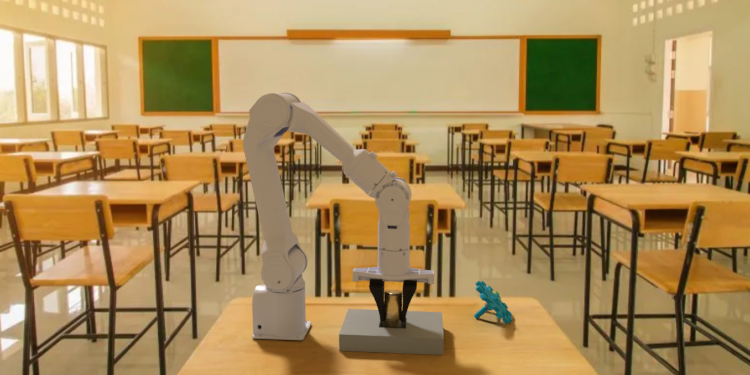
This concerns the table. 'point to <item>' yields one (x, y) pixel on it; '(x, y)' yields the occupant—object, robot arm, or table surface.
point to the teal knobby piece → (492, 303)
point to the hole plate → (392, 333)
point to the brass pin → (392, 309)
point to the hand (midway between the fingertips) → (393, 319)
